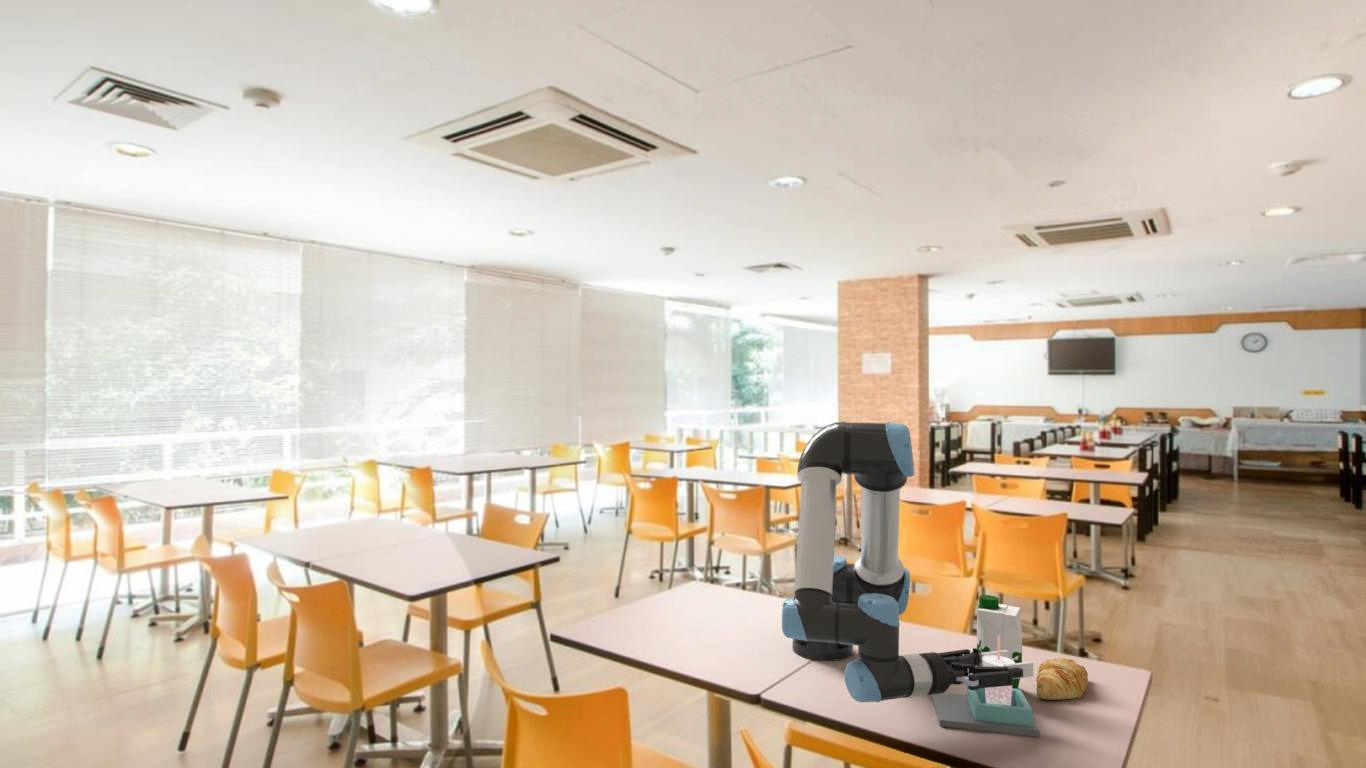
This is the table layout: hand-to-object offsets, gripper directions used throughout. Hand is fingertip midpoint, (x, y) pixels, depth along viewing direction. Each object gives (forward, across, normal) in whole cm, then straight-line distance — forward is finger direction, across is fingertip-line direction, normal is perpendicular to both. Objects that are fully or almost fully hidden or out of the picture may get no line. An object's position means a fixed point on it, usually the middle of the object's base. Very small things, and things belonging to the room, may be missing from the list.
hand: (1019, 662), depth 146 cm
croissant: (+19, -8, -11) cm, 23 cm away
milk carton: (+5, -12, -11) cm, 16 cm away
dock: (-8, -2, -10) cm, 13 cm away
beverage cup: (-5, 0, -8) cm, 10 cm away
